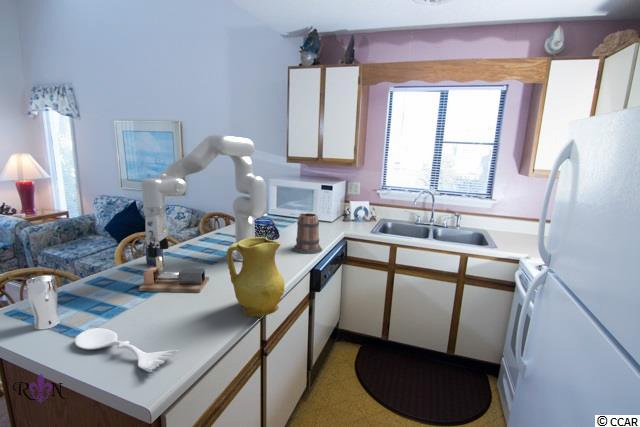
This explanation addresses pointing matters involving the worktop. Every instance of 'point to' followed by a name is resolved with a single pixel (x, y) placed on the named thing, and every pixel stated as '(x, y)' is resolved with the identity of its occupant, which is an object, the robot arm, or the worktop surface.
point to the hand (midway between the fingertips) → (158, 252)
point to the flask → (153, 259)
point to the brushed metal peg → (164, 275)
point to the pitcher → (256, 276)
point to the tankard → (307, 234)
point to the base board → (172, 286)
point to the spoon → (107, 338)
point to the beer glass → (43, 301)
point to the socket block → (149, 276)
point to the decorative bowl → (273, 230)
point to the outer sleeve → (192, 276)
